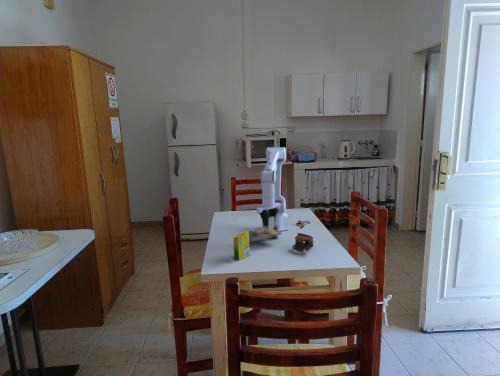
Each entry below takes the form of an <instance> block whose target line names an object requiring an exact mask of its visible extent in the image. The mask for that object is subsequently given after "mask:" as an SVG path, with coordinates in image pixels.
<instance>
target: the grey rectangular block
mask: <svg viewBox="0 0 500 376" xmlns="http://www.w3.org/2000/svg"><path fill="white" fill-rule="evenodd" d="M261 221H262V220H261ZM261 225H262V228H264V229H268V230H270V229H272V228H274V216H269V220H268V226H264V225H263V221H262V224H261Z"/></svg>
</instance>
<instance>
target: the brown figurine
mask: <svg viewBox="0 0 500 376" xmlns="http://www.w3.org/2000/svg"><path fill="white" fill-rule="evenodd" d="M294 240H295V242H294V244H292V251H297V252H300V253H304V250H305V251H306V252H308V251H310V250H311V248H314V237H313V236H312V235H309V234H305V233H300V232H298V233H297V235H296V236H295V237H294Z"/></svg>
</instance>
